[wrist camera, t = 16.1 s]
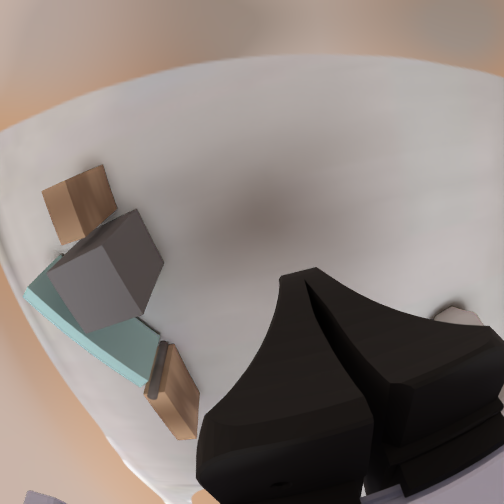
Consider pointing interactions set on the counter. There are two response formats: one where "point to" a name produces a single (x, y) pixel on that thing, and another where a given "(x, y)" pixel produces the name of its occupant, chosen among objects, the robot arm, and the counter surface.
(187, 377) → the wall
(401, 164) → the counter surface
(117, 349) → the door
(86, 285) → the block
